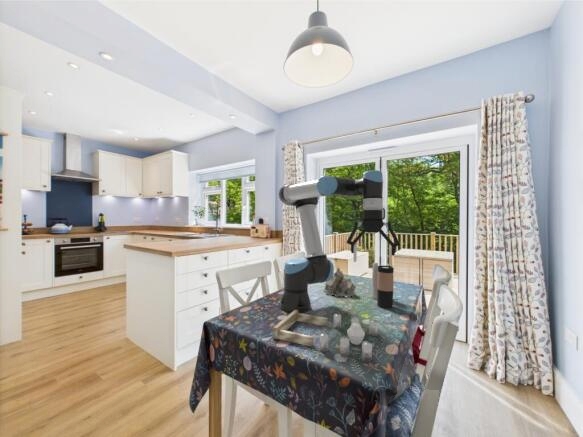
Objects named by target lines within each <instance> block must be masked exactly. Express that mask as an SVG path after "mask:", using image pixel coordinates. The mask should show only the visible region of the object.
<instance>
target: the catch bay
mask: <svg viewBox="0 0 583 437" xmlns="http://www.w3.org/2000/svg"><path fill="white" fill-rule="evenodd" d="M328 321H329V318H328V317H323V316H319V315H312V314H306V313H303V312H301V313H298V310H294V311H293V312H289V313H288V315H287V316H286V317H284V318H283V319H282V320H280V321H279V323H277V324H276V325H275V326H273V339H275V340H281V341H286V342H290V343H295V344H299V345H303V346H308V347H312V348H313V346H314V340H315V339H314V338H315V336H312V335H307V334H302V333H298V332H294V331H289V329H290V328H291V327H292V326H293V325H294V324H295V323H296V322H302V323H306V324H312V325H317V326H323V327H328Z"/></svg>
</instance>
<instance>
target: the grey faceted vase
mask: <svg viewBox="0 0 583 437" xmlns="http://www.w3.org/2000/svg"><path fill="white" fill-rule="evenodd" d="M346 333H347V337H348V338H349V342H351V344H353V345H356V346H359V345H361V344H362V342H363V341H364V338H365V335H366V333H365V331H364V329H363V328H362V326H361V324H360V323H359V324H358V323H353V324H351V323H350V327H349V328H348V329H347V331H346Z"/></svg>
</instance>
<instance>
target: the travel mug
mask: <svg viewBox="0 0 583 437" xmlns="http://www.w3.org/2000/svg"><path fill="white" fill-rule="evenodd" d="M394 269H395V268H394V267H393V266H390V265H383V264H382V265H378V282H377V299H376V300H377V307H379V308H382V309H387V310H389V309H392V308H393V304H394V300H393V297H394V272H395V271H394Z"/></svg>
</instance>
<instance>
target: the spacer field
mask: <svg viewBox="0 0 583 437" xmlns="http://www.w3.org/2000/svg"><path fill="white" fill-rule="evenodd" d="M368 322H369V323H368V325H369V326H368V327H369V328H368V334H369V336H371V337H377V336H378V321H377V320H376V319H369V320H368ZM332 323H333V324H332V326H333V328H334V329H335V330H340V329H341V328H342V314H340V313H334V314H333V322H332ZM353 323H358V324H360V318H359V317H358V316H351V317H350V325H351V324H353ZM318 335H319V338H318V340H319V343H318V350H319V351H320V352H324V353H325V352H328V351H329V333H327V332H320V333H319V334H318ZM339 356H341V357H344V358H345V357H346V358H347V357H349V356H350V339H349V337H348V336H341V337H340V338H339ZM372 356H373V343H372V342H371V341H367V340H362V342H361V360H362V361H363V362H365V363H370V362H372V360H373V357H372Z"/></svg>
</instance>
